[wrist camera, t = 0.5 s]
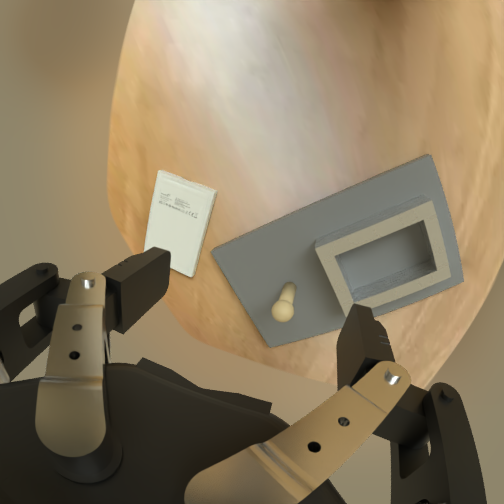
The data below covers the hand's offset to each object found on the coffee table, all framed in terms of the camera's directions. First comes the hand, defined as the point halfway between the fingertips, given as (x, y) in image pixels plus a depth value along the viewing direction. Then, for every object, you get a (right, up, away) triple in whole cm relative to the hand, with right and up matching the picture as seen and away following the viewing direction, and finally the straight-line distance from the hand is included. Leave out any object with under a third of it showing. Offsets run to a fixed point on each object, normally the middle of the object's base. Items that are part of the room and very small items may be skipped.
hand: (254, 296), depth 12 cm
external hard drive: (-10, +6, +25) cm, 28 cm away
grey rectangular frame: (+15, +2, +17) cm, 23 cm away
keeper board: (+11, +1, +21) cm, 23 cm away
